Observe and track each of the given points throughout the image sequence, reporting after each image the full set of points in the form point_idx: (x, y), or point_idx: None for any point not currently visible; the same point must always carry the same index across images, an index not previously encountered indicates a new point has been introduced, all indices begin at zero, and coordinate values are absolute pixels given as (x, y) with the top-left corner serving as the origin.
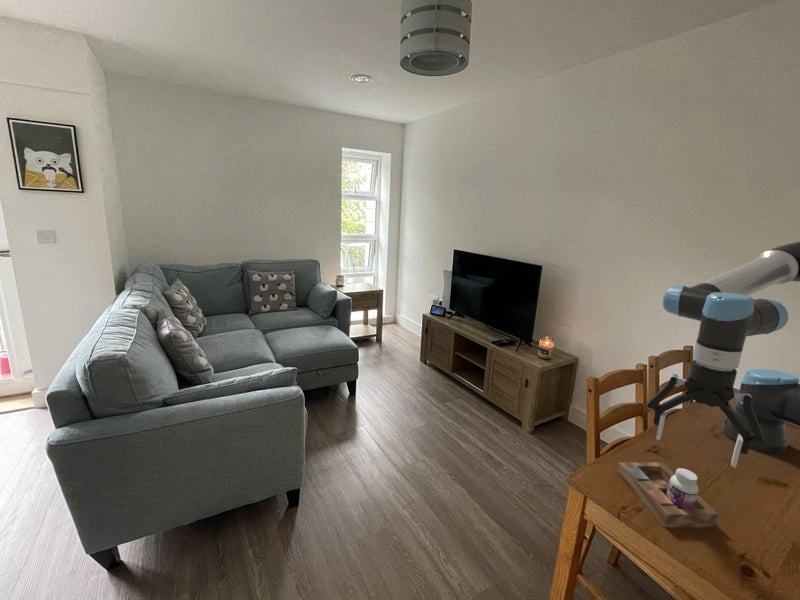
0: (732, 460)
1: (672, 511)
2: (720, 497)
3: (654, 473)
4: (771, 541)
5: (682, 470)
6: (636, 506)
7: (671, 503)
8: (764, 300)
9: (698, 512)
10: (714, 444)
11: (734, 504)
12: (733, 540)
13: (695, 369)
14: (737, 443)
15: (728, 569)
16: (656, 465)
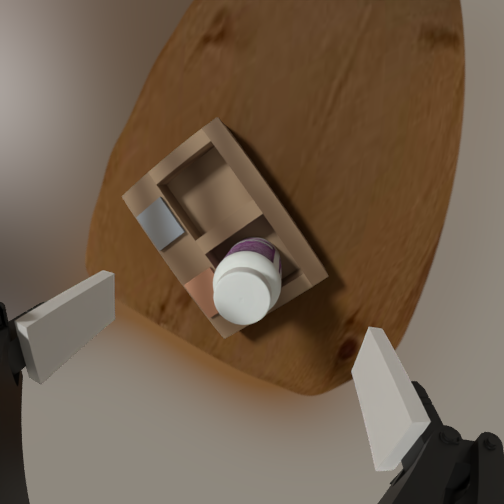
0: (356, 382)
1: (234, 324)
2: (352, 141)
3: (208, 151)
4: (412, 245)
5: (229, 289)
6: (181, 291)
7: None
8: None
9: (286, 296)
10: None
11: (375, 153)
12: (348, 286)
13: None
14: (373, 451)
15: (319, 362)
16: (202, 143)
